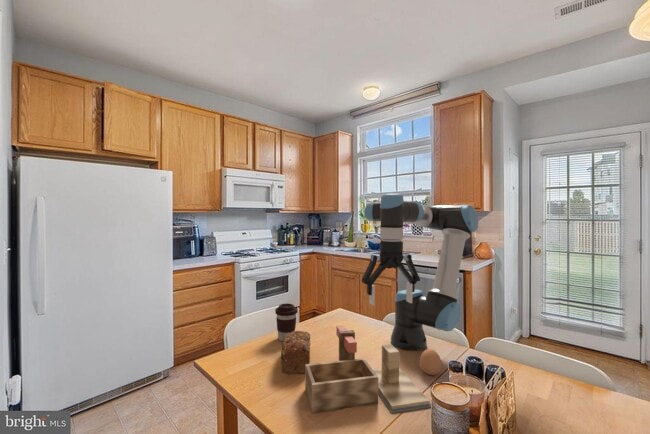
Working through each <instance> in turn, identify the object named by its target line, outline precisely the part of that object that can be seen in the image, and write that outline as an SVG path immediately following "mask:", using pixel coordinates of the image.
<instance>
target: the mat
mask: <svg viewBox="0 0 650 434" xmlns="http://www.w3.org/2000/svg"><path fill="white" fill-rule="evenodd" d="M378 397H379V398H380V399H381V400H382V402H383V403H384V404H385V406H386V407H387V409H388V410H389V412H390V413H391V414H399V413H405V412H411V411H419V410H425V409H430V408H431V405H432V404H431V402H429V404H426V405H419V406H412V407H406V408H399V409H391V407H390V406H389V405H388V403H387V402H386V400H385V399H384V397H383V396H382V395H381V393H380V392H379V390H378ZM431 409H432V408H431Z"/></svg>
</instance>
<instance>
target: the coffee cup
mask: <svg viewBox="0 0 650 434" xmlns="http://www.w3.org/2000/svg"><path fill="white" fill-rule="evenodd" d="M274 312H275V315H276V318H275V319H276V330H277V340H279V341H280V342H283V339H284V337H285V335H287V334H289V333H290V332H292V331H296V326H297V314H298V308H297V307H295V305H294V304H293V303H281V304H279V305H278V307H276V308H275V310H274Z"/></svg>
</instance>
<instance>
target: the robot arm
mask: <svg viewBox="0 0 650 434" xmlns="http://www.w3.org/2000/svg"><path fill="white" fill-rule="evenodd" d="M364 217H365V218H366V220H367V221H370V222H375V223H376V222H380V224H379V227H380V229H379V239H381V240H380V241H379V255H376V254H371V255H370V261H369V263H368V265H367V268H366V269H365V272H364V274H363V275H362V277H361V280H360V281H361V283H363V284H364V285H366V294H367V295H368V296H369V299H368V301H369V302H368V303H369V305H370V306H372V307H375V306H376V305H375V303H376V302H375V300H376V299H375V298H376V297H375V295H376V294H375V293H376V292H375V291H376V290H375V288H376V286H375V285H374V283H375V282H376V280H378V278H379V276H380V275H381V274H382V273H383V272H384V271H385V270H386V269H397V268H398V269H399V271H400V272H401V273H402V275H403V276H404V277H405V278H406V280H407V281H408V282H406V289H403V290H399V291H397V292H396V294H395V299H394V304H395V305H394V309H395V310H394V311H395V313H394V318H395V319H394V326H393V329H392V333H391V335H390V344H392V345H393V346H394V347H395V348H399V349H401V350H406V351H421V350H424V349H426V348H427V344H428V343H427V341H428V340H427V337H426V335H425V330H424V327H423V325H424V326H426V327H430V328H433V329H435V330H438V331H444V332H451V331H453V330H454V329H456V327H457V326H458V324H459V322H460V319H461V317H462V307H461V305H460V303H458V298H457V296H456V294H455V293H456V288H457V283H458V278H459V275H460V268H461V264H462V259H463V253H464V249H465V245H466V241H467V240H468V239H470V237H471V235H472V233H475V232H477V230H478V228H479V216H478V212H477V210H476V208H475V207H474V206H472V205H471V204H444V205H443V204H442V205H441V204H440V205H439V204H438V205H430V206H425V205H422V204H421V203H420V202H418V201H414V200H404V195H403V194H401V193H386V194H385V193H384V194H382V195H381V196H380V202H379V201H374V202H373V201H372V202H369V203H367V204H366V205H365V206H364ZM404 224H409V225H416V226H418V227H420V228H427V229H432V230H435V231H436V230H437V231H441V234H443V236H444V237H443V240H442V244H441V250H440V254H439V259H438V263H437V268H436V272H435V276H434V280H433V285H432V288H431V289H429V290H427V294H426V295H424V292H423V290H421V289H416V288H415V287H416V286H415V285H416V284H417V282H420V281H421V278H420V275H419V274H418V272H417V269H416V267H415V265H414V263H413V256H412V255H411V254H410V253H405V254H403V252H404V241H402V240H403V239H404ZM403 260H404V261H405V264H406V266H407V268H408V270H407V269H406V267H405V265H404V264H403ZM379 261H380V263H379V264H378V265H377V263H378V262H379ZM376 265H377V267H376ZM375 267H376V269H375ZM374 269H375V270H374Z"/></svg>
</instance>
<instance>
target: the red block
mask: <svg viewBox="0 0 650 434" xmlns="http://www.w3.org/2000/svg"><path fill="white" fill-rule="evenodd" d="M339 331H348V329H347V328H346V327H345V326H344V325H343V324H342V325H336V334H335V335H336V336H337V338H338V339H339ZM357 344H358V343H357V340H356V338H355V339H354V338H353V337H352V336H351V335H343V345H344V347H345V348H346V350H347V351H348V353H355V354H356V353H357V352H358V351H357V350H358V347H357V346H358V345H357Z"/></svg>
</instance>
